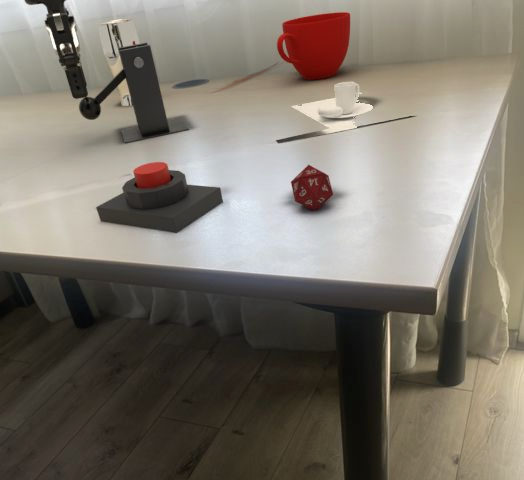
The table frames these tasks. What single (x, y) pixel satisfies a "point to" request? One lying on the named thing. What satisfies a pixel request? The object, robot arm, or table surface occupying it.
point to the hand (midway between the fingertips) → (80, 92)
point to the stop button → (152, 175)
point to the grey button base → (160, 204)
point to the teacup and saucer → (333, 111)
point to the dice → (311, 188)
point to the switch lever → (99, 98)
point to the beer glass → (112, 39)
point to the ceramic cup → (316, 43)
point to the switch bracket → (145, 96)
